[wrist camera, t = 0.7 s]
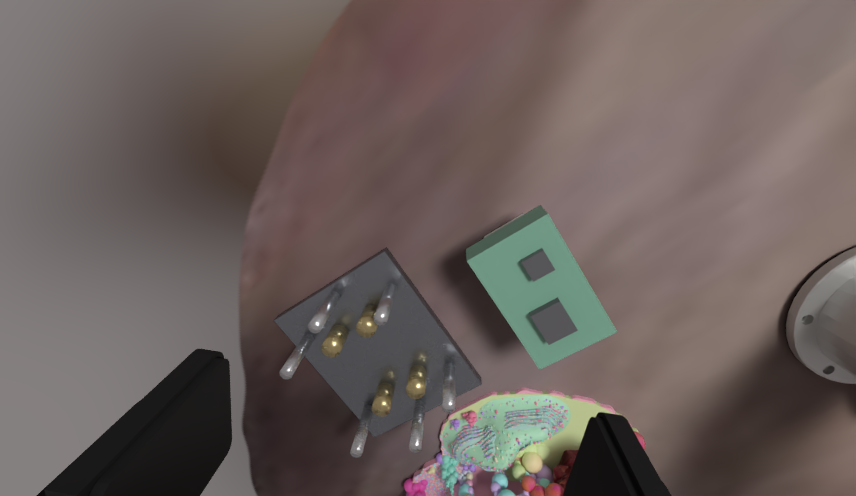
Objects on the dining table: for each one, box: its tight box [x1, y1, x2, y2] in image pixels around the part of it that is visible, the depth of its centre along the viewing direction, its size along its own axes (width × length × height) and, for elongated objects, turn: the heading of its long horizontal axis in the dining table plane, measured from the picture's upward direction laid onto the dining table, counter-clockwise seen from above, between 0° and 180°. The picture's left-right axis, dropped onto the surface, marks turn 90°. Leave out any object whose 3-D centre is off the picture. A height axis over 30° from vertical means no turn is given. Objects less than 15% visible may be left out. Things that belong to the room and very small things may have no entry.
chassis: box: [274, 247, 482, 458], centre depth 33 cm, size 15×12×6 cm
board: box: [466, 205, 617, 370], centre depth 28 cm, size 10×6×3 cm, turn 34°
